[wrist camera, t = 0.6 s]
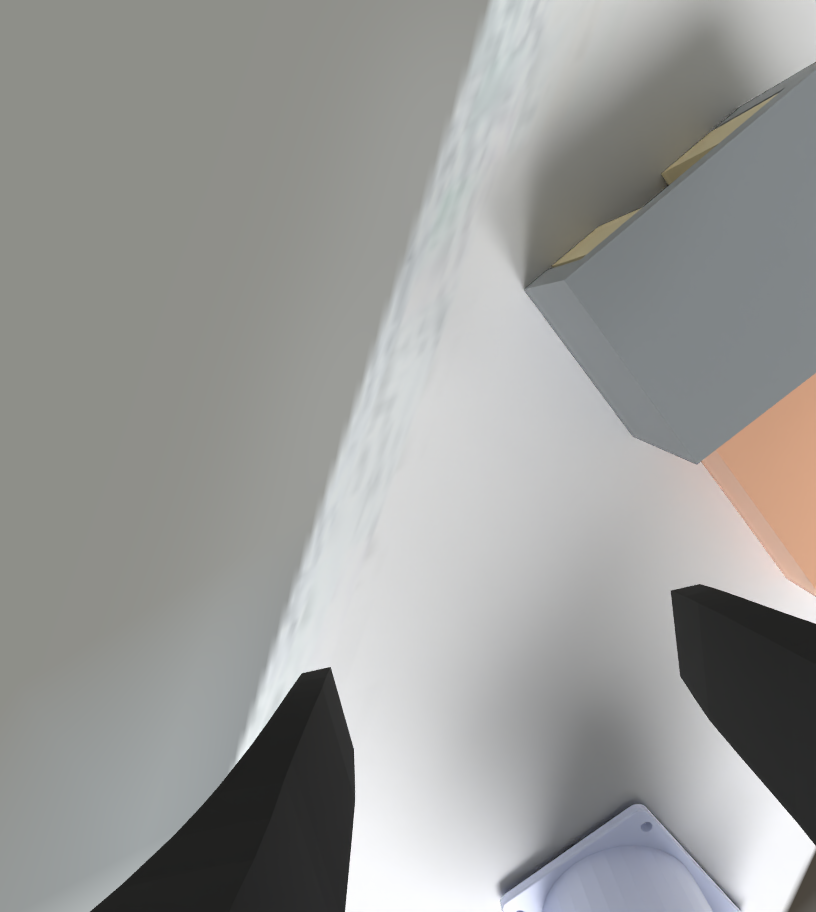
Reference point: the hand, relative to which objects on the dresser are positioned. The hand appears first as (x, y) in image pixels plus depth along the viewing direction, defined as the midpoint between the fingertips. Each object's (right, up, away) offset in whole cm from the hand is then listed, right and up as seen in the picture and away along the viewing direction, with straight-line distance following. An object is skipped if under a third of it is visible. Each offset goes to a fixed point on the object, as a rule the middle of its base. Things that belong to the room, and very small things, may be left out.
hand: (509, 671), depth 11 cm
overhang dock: (+8, +11, +8) cm, 15 cm away
